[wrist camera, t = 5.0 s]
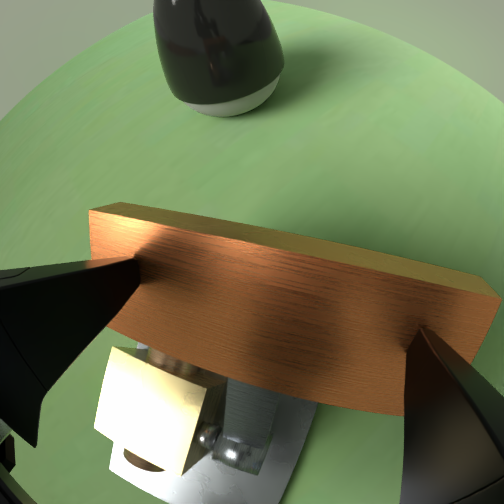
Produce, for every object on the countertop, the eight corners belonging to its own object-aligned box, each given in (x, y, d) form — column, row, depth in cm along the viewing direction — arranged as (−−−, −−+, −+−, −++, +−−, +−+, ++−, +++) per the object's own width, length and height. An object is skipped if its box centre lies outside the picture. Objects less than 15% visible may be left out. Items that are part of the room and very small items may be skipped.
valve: (263, 531, 12) (252, 563, 8) (113, 467, 15) (81, 480, 11) (343, 306, 16) (354, 293, 13) (168, 263, 19) (139, 242, 16)
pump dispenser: (270, 59, 26) (242, -61, 12) (304, 114, 22) (282, -56, 8) (181, 86, 27) (126, -25, 13) (189, 149, 23) (102, -1, 9)
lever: (360, 502, 9) (507, 305, 5) (122, 424, 13) (80, 211, 9) (364, 466, 12) (476, 272, 8) (145, 399, 15) (126, 200, 11)
